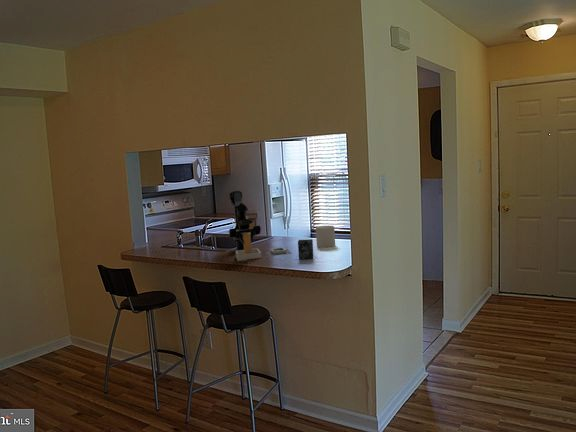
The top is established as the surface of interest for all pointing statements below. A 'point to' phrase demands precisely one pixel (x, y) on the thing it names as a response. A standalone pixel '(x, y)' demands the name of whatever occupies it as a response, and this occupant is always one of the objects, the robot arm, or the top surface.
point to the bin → (247, 255)
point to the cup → (325, 236)
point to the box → (305, 249)
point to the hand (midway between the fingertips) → (247, 242)
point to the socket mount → (278, 251)
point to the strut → (247, 243)
